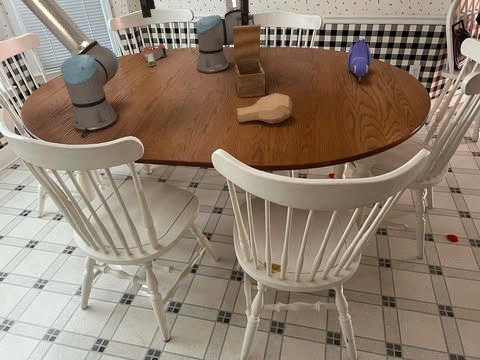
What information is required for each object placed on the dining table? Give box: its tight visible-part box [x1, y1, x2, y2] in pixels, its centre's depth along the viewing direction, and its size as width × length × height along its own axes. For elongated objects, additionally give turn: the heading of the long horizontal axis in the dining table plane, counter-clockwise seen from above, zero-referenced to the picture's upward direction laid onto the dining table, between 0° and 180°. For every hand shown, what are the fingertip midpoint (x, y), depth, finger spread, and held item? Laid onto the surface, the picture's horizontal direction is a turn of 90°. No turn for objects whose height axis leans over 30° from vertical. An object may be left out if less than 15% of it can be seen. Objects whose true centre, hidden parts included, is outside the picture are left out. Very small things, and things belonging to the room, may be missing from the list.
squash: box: [236, 92, 293, 125], centre depth 125 cm, size 11×20×9 cm, turn 92°
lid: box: [233, 14, 262, 62], centre depth 147 cm, size 17×11×9 cm
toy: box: [346, 38, 372, 83], centre depth 153 cm, size 10×17×25 cm
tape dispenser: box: [140, 44, 167, 67], centre depth 190 cm, size 18×5×20 cm
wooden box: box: [233, 59, 266, 99], centre depth 149 cm, size 17×11×9 cm, turn 6°
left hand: (149, 13), depth 121 cm, fingers open, 13 cm apart
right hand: (245, 30), depth 146 cm, fingers closed on lid, 2 cm apart
